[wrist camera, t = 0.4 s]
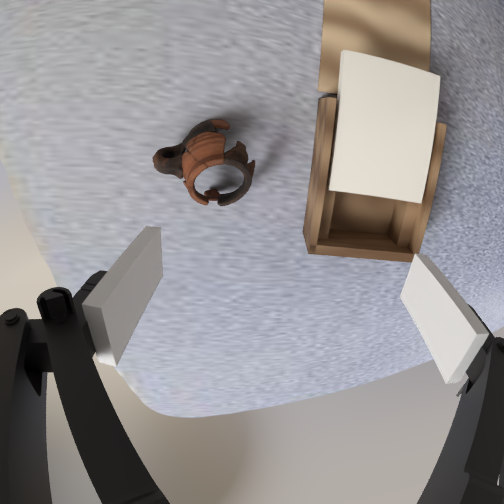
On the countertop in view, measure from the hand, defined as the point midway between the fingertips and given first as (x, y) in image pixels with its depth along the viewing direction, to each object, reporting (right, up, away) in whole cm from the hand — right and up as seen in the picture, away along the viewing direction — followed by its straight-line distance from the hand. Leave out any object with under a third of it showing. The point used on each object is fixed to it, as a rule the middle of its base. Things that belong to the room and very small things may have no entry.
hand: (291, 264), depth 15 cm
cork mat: (+14, +28, +14) cm, 34 cm away
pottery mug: (-7, +13, +23) cm, 28 cm away
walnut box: (+13, +11, +23) cm, 28 cm away
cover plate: (+13, +15, +16) cm, 25 cm away
